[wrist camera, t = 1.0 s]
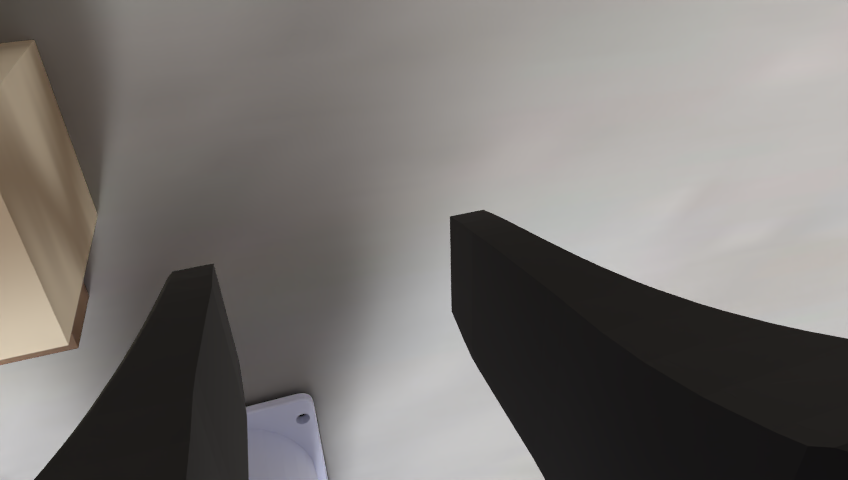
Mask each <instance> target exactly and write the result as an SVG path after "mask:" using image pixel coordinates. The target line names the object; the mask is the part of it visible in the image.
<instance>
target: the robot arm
mask: <svg viewBox="0 0 848 480" xmlns="http://www.w3.org/2000/svg"><path fill="white" fill-rule="evenodd" d="M450 242H451V297H452V313H453V315H454V318H455V320H456V322H457V325H458V327H459V329H460V332H461V334H462V337H463V339H464V341H465V343H466V345H467V348H468V350H469V352H470V354H471V357H472V359H473V360H474V362H475V364H476V365H477V367H478V369H479V370H480V372H481V374H482V375H483V377H484V379H485V380H486V382H487V384H488V385H489V387H490V389H491V390H492V392H493V394H494V395H495V397H496V398H497V400H498V402H499V403H500V405H501V406H502V408H503V410H504V411H505V413H506V415H507V416H508V418H509V419H510V421H511V423H512V424H513V426H514V428H515V429H516V431H517V432H518V434H519V436H520V437H521V439H522V441H523V442H524V444H525V445H526V447H527V449H528V450H529V452H530V454H531V455H532V457H533V458H534V460H535V462H536V464H537V466H538V467H539V469H540V471H541V473H542V475H543V476H544V478H545V480H848V339H846V338H841V337H835V336H830V335H825V334H819V333H814V332H809V331H804V330H799V329H795V328H790V327H786V326H781V325H777V324H772V323H768V322H764V321H761V320H757V319H753V318H749V317H745V316H741V315H737V314H734V313H730V312H726V311H722V310H719V309H716V308H712V307H709V306H705V305H702V304H699V303H696V302H693V301H690V300H687V299H684V298H681V297H678V296H675V295H672V294H669V293H666V292H663V291H660V290H657V289H655V288H652V287H649V286H647V285H644V284H641V283H639V282H636V281H634V280H631V279H629V278H627V277H624V276H622V275H619V274H617V273H615V272H612V271H610V270H608V269H605V268H603V267H601V266H598V265H596V264H594V263H592V262H590V261H587V260H585V259H583V258H581V257H579V256H577V255H575V254H573V253H570V252H568V251H566V250H564V249H562V248H560V247H558V246H556V245H554V244H552V243H550V242H548V241H546V240H544V239H542V238H540V237H538V236H536V235H534V234H532V233H530V232H528V231H527V230H525V229H523V228H521V227H519V226H517V225H515V224H513V223H511V222H509V221H507V220H505V219H503V218H501V217H499V216H496V215H494V214H492V213H490V212H487V211H485V210H480V211H475V212H470V213H465V214H460V215H455V216H450ZM301 414H306V415H304V416H300V417H298V416H299V415H301ZM34 480H328V477H327V472H326V467H325V461H324V456H323V450H322V445H321V440H320V434H319V429H318V423H317V418H316V412H315V407H314V402H313V399H312V397H311V396H310V395H308V394H305V393H299V394H294V395H290V396H287V397H283V398H279V399H275V400H271V401H267V402H263V403H259V404H255V405H251V406H247V407H246V406H245V399H244V392H243V385H242V378H241V372H240V365H239V360H238V356H237V352H236V348H235V344H234V341H233V337H232V333H231V329H230V325H229V321H228V318H227V314H226V310H225V306H224V302H223V298H222V295H221V291H220V287H219V283H218V279H217V275H216V272H215V268H214V264H209V265H204V266H199V267H194V268H189V269H184V270H179V271H174V272H172V273H171V275H170V276H169V277H168V278H167V280H166V282H165V284H164V286H163V288H162V290H161V292H160V294H159V296H158V298H157V300H156V302H155V304H154V306H153V308H152V310H151V312H150V314H149V316H148V317H147V319H146V321H145V323H144V325H143V327H142V328H141V330H140V332H139V334H138V335H137V337H136V339H135V340H134V342H133V344H132V345H131V347H130V349H129V351H128V352H127V354H126V356H125V357H124V359H123V361H122V362H121V364H120V365H119V367H118V369H117V370H116V372H115V373H114V375H113V376H112V378H111V379H110V381H109V382H108V383H107V385H106V386H105V388H104V389H103V391H102V392H101V394H100V395H99V397H98V398H97V400H96V401H95V403H94V404H93V406H92V407H91V408H90V410H89V411H88V413H87V414H86V415H85V417H84V418H83V419H82V421H81V422H80V423H79V425H78V426H77V427H76V429H75V430H74V431H73V433H72V434H71V435H70V437H69V438H68V439H67V440H66V442H65V443H64V444H63V446H62V447H61V448H60V449H59V450H58V452H57V453H56V454H55V455H54V456H53V458H52V459H51V460H50V461H49V463H48V464H47V465H46V466H45V467H44V469H43V470H42V471H41V472H40V473H39V475H38V476H37V477H36V478H35V479H34Z"/></svg>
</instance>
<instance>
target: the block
mask: <svg viewBox="0 0 848 480" xmlns="http://www.w3.org/2000/svg"><path fill="white" fill-rule="evenodd" d="M97 217H98V215H97V212H96V209H95V206H94V204H93V201H92V198H91V195H90V193H89V190H88V187H87V184H86V182H85V179H84V176H83V173H82V170H81V168H80V165H79V162H78V159H77V157H76V154H75V151H74V148H73V146H72V143H71V140H70V137H69V135H68V132H67V129H66V126H65V124H64V121H63V118H62V115H61V112H60V110H59V107H58V104H57V101H56V99H55V96H54V93H53V90H52V88H51V85H50V82H49V79H48V77H47V74H46V71H45V68H44V66H43V63H42V60H41V57H40V54H39V52H38V49H37V46H36V43H35V41H34V40H26V41H16V42H7V43H0V360H3V359H7V358H12V357H17V356H21V355H26V354H30V353H35V352H40V351H44V350H49V349H53V348H58V347H62V346H67V345H69V341H70V336H71V332H72V327H73V323H74V318H75V314H76V310H77V305H78V301H79V296H80V292H81V287H82V283H83V279H84V274H85V270H86V265H87V261H88V256H89V252H90V248H91V243H92V239H93V234H94V230H95V225H96V221H97Z"/></svg>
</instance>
